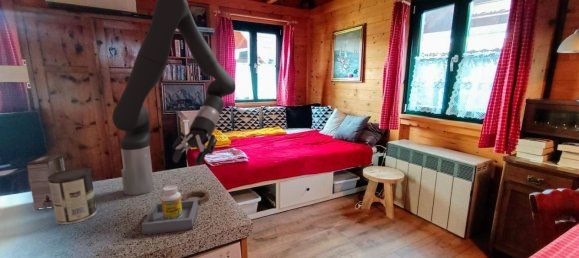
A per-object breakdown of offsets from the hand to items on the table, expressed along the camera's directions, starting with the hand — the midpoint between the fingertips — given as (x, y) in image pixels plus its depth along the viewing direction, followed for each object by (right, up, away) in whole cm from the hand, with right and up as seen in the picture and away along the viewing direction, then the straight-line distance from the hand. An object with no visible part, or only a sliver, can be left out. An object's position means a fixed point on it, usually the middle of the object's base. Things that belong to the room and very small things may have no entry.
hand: (185, 162), depth 85 cm
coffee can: (-33, -17, -1) cm, 37 cm away
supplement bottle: (-2, -16, -4) cm, 17 cm away
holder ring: (0, -14, +9) cm, 17 cm away
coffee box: (-49, -15, +7) cm, 51 cm away
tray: (-2, -17, -4) cm, 17 cm away
